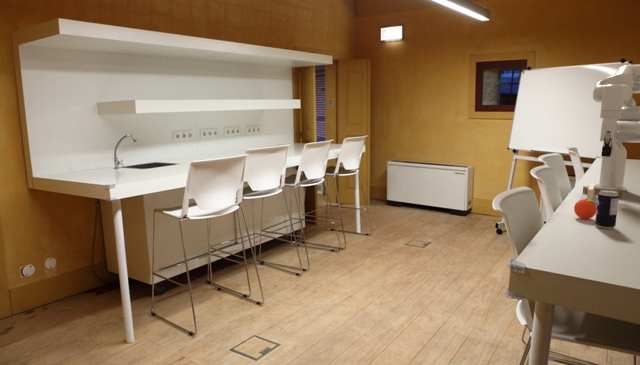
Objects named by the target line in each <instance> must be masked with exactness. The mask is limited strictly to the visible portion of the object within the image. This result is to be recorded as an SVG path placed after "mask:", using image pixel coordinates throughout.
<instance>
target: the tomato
mask: <svg viewBox="0 0 640 365" xmlns="http://www.w3.org/2000/svg"><path fill="white" fill-rule="evenodd" d="M579 200H580V199H579ZM579 200H578V201H577V202H575V205H574V206H573V210H574V214H575V215H576V216H577V217H578V218H580V219H583V220H589V219H591V218H593V217H594V216H596V211H597V206H596V205H595V203H594V202H595V201H594V202H593V200H588V199H582V200H580V201H579ZM596 203H597V202H596Z"/></svg>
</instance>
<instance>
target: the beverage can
mask: <svg viewBox="0 0 640 365" xmlns="http://www.w3.org/2000/svg"><path fill="white" fill-rule="evenodd" d="M619 199H620V198H619V195H618V192H617V191H613V190H600V193H599V194H598V202H597V206H596V207H597V211H596V214H595V222H594V224H595V225H596V226H597V227H598V228H600V229H604V230H610V229H611V230H612V229H613V228H615V227H616V224H617V216H618V207H619V206H618V205H619Z"/></svg>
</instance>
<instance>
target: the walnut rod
mask: <svg viewBox="0 0 640 365" xmlns="http://www.w3.org/2000/svg"><path fill="white" fill-rule="evenodd" d="M582 187H583V188H582V194H588V188H589V186H587V185H586V186H585V185H584V186H582ZM600 190H613V191H617V192H618V195H619V199H623V192H624V191H623V190H622V189H620V188H606V187H595V191H594V195H598V194H599V193H600Z"/></svg>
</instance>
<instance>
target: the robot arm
mask: <svg viewBox="0 0 640 365" xmlns="http://www.w3.org/2000/svg"><path fill="white" fill-rule="evenodd" d="M633 94H640V64H625V65H622V66H620V67H619V68H618V69H617V70H616V72H615V74H614V75H612V76H609V77H606V78H603V79H601V80H599V81H598V82H597V83H596V85H595V87H594V89H593V92H592V99H593V100H594V102H595V103H601V106H600V107H601V108H600V116H599V118H600V119H602V121H601V122H602V123H601V126H600V127H601V128H600V137H599V142H600V143H601V142H603V143H602V147H601V166H600V175H599V183H597V184H596V183H595V187H606V188H620V189H622V190H623V192H624V191H626V190H627V189H628V187H627V186H625V185H624V183H625V182H624V180H625V172H626V164H627V157H628V156H627V155H628V151H627V149H626V147H625V146H624V145H623V144H622V143H636V144H637V143H638V144H640V106H639V105H637V103H636V101H635V99H634V98H633Z"/></svg>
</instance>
